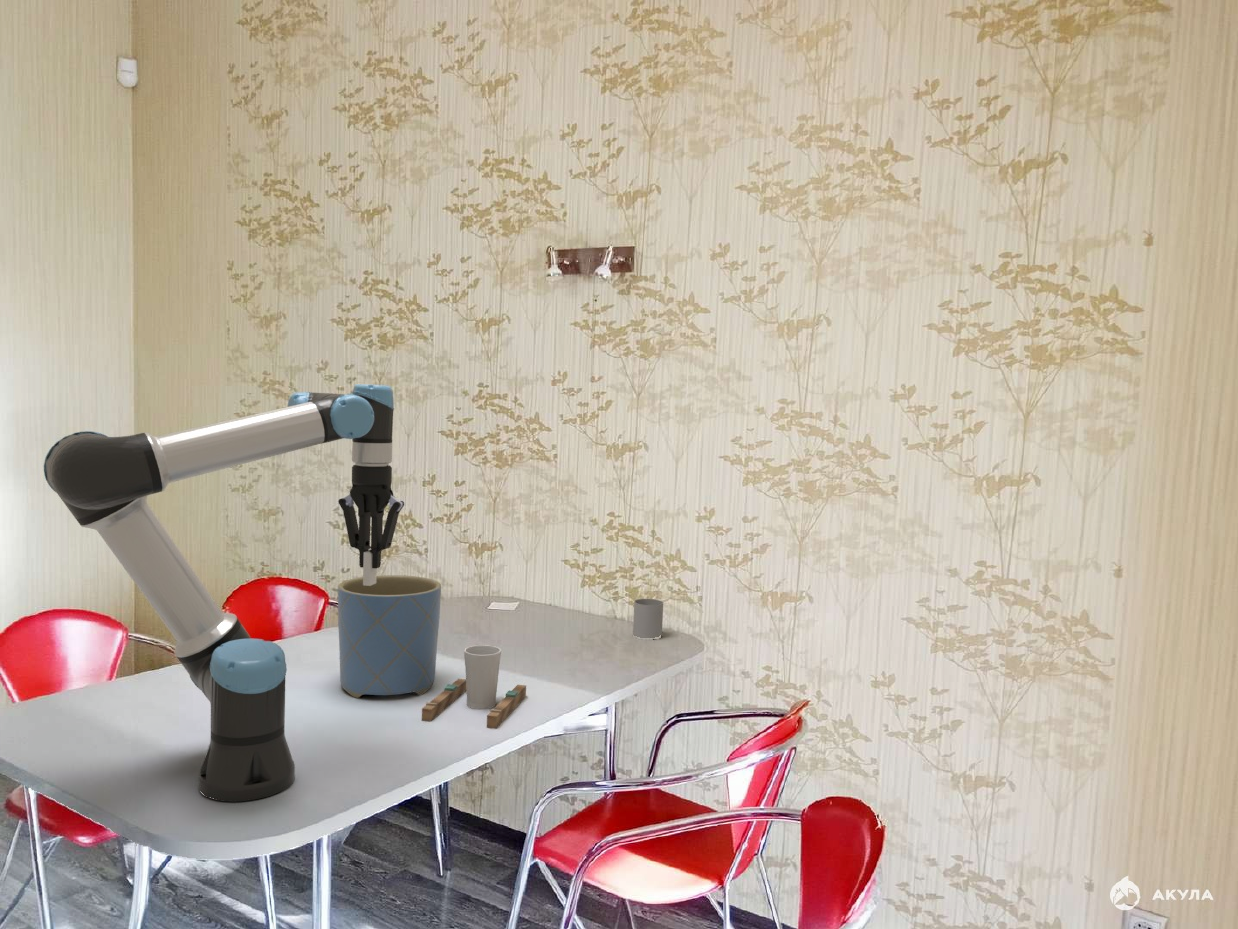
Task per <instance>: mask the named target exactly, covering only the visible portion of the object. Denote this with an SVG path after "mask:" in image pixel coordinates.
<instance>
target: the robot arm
mask: <svg viewBox="0 0 1238 929" xmlns="http://www.w3.org/2000/svg"><path fill="white" fill-rule="evenodd" d="M394 404H395V403H394V392H393V389H392V387H391V386H389V385H385V384H383V385H382V384H363V383H361V384H358V383H357V384H355V385H353V391H352V393H345V394H342V393H330V392H329V393H328V392H311V391H307V392H294V393H292V394H291V396H290V397H289V399H288V402H287V406H286V407H281V408H278V409H273V410H272V409H271V410H268V411H264V412H263V411H262V412H260V413H256V414H251V415H246V416H241V417H237V418H233V419H229V420H224V421H220V422H215V423H211V424H207V425H202V426H197V427H193V428H188V429H185V430H179V431H175V432H171V433H166V434H161V435H157V436H154V435H152V434H151V433H149V432H141V433H137V434H131V435H125V436H108V435H106V434H104V433H101V432H97V431H90V430H83V431H79V432H77V431H76V432H73V433H72V434H69V435H65V436H64V437H62V438H61V439H59V440H57V441H56V442H55V443H54V445H52V446H51V447H50V449H49V450H48V452H47V453H46V456H45V458H44V463H43V473H44V479H45V481H46V482H47V485H48V486H49V487H50V488H51V489H52V490H53V492H55V493H56V494H57V496H58V497H59V499H60V500H61V501H62V502H63V504H64V505H65V507H66V508H67V509H68V510H69V512H70V513H71V515H72V516H73V517H74V519H75V520H76V521H77V523H78V524H79V525H80V527H82V528H87V529H91V530H95V531H96V532H98V534H99V536H100V537H101V538H102V539H103V541H104V542H105V543H106V545H107V546H108V548H109V549H110V551H111V552H112V553H113V555H114V556H115V558H116V559H117V561H118V562H119V563H120V564H121V566H122V567H123V568H124V570H125V572H126V573H127V574H128V575H129V577H130V578H131V580H132V581H133V583H135V585H136V586H137V588H138V589H139V591H140V592H141V593H142V595H143V596H144V597H145V598H146V600H147V602H148V603H149V605H150V606H151V608H152V609H153V610H154V611H155V613H156V614H157V615H158V617H159V618H160V620H161V621H162V623H163V624H164V625H165V626H166V627H165V628H167V629H168V631H169V633H170V634H172V636H173V638H174V639H175V640H176V642H175V644H176V645H175V648H174V651H173V654H174V655H175V657H176V658H177V660H178V661H179V663H181V665H182V667H183V668H184V670H186V672H187V673H188V675H189V678H190V680H191V681H192V682H193V683H194V685H195V686H196V688H198V689H199V691H201V693H202V694H203V696H205V697H206V698H207V699H206V700H208V701H209V702H210V740H209V745H208V747H207V751H206V754H205V757H204V759H203V762H202V765H201V767H200V770H199V773H198V792H199V791H201V792H202V793H203V794H204V795H205V796H207V797H211V798H214V799H217V800H216V801H219V800H224V801H223V802H246V801H254V800H259V799H263V798H267V797H270V796H274V795H277V794H279V793H281V792H283V791H285V790H286V789H287V788H289V787H290V786H291V785H292V784H293V783H294V781H295V776H296V775H295V774H296V773H295V772H296V767H295V761H294V760H293V757H292V752H291V751H290V747H289V745H288V742H287V738H286V735H285V727H286V726H285V722H286V721H285V718H286V717H285V716H286V715H285V714H286V713H285V712H286V676H287V670H288V669H287V663H286V654H285V652H284V649H282V647H281V646H280V645H279V644H277V643H276V642H273V641H270V640H264V639H262V638H251V636H250V634H249V632H248V631H247V630H246V628H245V627H244V625H243V624H242V623H241V621H240V620H239V619H238V617H237V615H236V614H235V613H232V612H231V613H230V612H224V611H222V610H221V608H220V607H219V606H218V604H217V603H216V601H215V599H214V598H213V597H212V595H211V594H210V593H209V591H208V589H207V588H206V587H205V585H204V583H203V582H202V580H201V579H200V578H199V576H198V575H197V574H196V572H195V570H193V568H192V567H191V565H190V564H189V562H188V561H187V559H186V558H185V556H184V555H183V553H182V552H181V550H180V549H179V548H178V546H177V545H176V543H175V541H173V539H172V538H171V536H170V534H169V533H168V532H167V530H166V529H165V527H164V526H163V524H162V523H161V521H160V520H159V518H158V517H157V516H156V514H155V513H154V511H153V510H152V509H151V507H150V506H149V504H148V503H147V500H148V496H150V495H154V494H157V493H162V492H164V491H165V490H166V488H167V487H168V485H169V484H170V483H171V484H172V483H175V482H178V481H181V480H185V479H189V478H193V477H197V476H200V475H205V474H209V473H213V472H216V471H220V470H224V469H228V468H233V467H238V466H240V465H244V464H247V463H251V462H256V461H259V460H263V459H268V458H272V457H275V456H279V455H283V454H286V453H290V452H294V451H298V450H301V449H306V448H309V447H313V446H317V445H321V444H326V443H331V442H335V441H338V440H343V439H345V440H346V439H347V440H352V453H351V462H353V463H355V464H354V465H352V466H351V485H352V486H351V489H350V491H349V494H348V495H346V496H345V497H342V498H340V499H338V501H337V502H338V504H339V506H340V508H341V510H342V513H343V518H344V522H345V526H346V532H347V537H348V541H349V547H351V548H352V549H357V550H358V552H359V557H358V558H359V564H358V565H359V567H360V568H363V570H362V574H363V576H362V577H363V585H365V586H371V585H373V584H376V576H377V571H378V570H377V569H379V568H380V567H381V565H382V561H381V560H382V552H383V551H384V550H387V549H389V548H391V546H392V542H393V540H394V534H395V531H396V526H397V523H398V518H399V516H400V512H401V511H402V509H403V507H404V506H405V502H404V501H403V500H399V499H398V498H396V497H395V496H394V491H393V490H392V481H393V467H392V465H390V464H391V463H392V462H393V429H394V428H393V427H394V426H393V425H394V424H393V423H394V412H395V408H394ZM354 504H355V505H356V507H357V514H356V509H355V506H354ZM387 506H388V508H389V511H388V513H387V517H386V520H385V523H384V522H383V521H384V520H383V519H384V515H385V509H386V507H387ZM357 516H358V519H359V520H358V519H357ZM383 524H385V525H383ZM383 526H384V529H383ZM205 796H204V797H205ZM207 797H206V798H207ZM214 799H213V800H214Z"/></svg>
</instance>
